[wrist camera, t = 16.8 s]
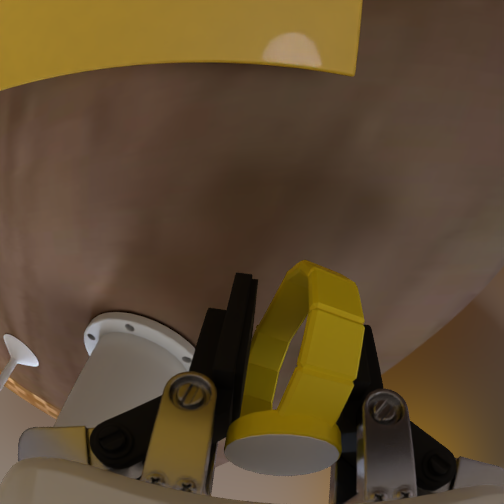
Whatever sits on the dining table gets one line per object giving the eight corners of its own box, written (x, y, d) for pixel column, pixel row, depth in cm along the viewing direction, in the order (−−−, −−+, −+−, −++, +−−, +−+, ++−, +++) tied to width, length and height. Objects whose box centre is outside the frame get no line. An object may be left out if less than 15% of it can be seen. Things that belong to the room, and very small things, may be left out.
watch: (289, 360, 13) (279, 492, 8) (228, 340, 13) (195, 475, 8) (367, 252, 10) (409, 420, 5) (289, 219, 10) (278, 393, 5)
